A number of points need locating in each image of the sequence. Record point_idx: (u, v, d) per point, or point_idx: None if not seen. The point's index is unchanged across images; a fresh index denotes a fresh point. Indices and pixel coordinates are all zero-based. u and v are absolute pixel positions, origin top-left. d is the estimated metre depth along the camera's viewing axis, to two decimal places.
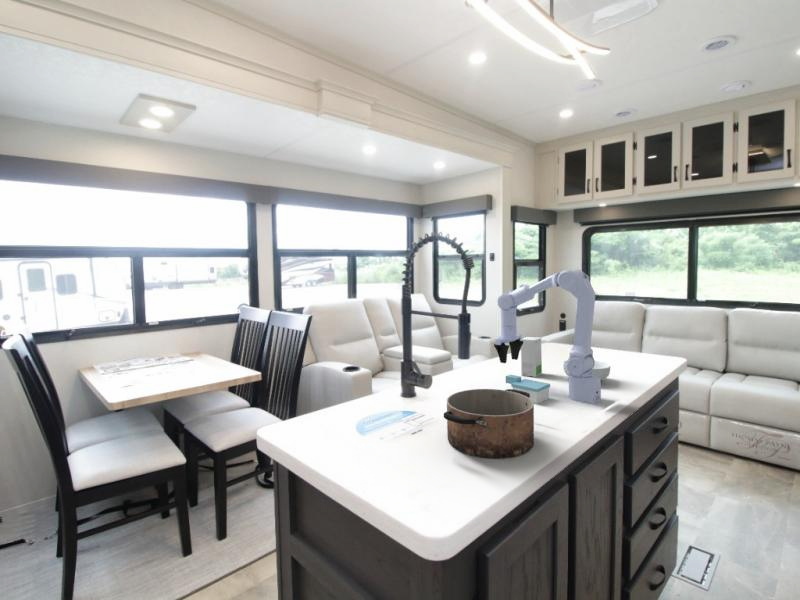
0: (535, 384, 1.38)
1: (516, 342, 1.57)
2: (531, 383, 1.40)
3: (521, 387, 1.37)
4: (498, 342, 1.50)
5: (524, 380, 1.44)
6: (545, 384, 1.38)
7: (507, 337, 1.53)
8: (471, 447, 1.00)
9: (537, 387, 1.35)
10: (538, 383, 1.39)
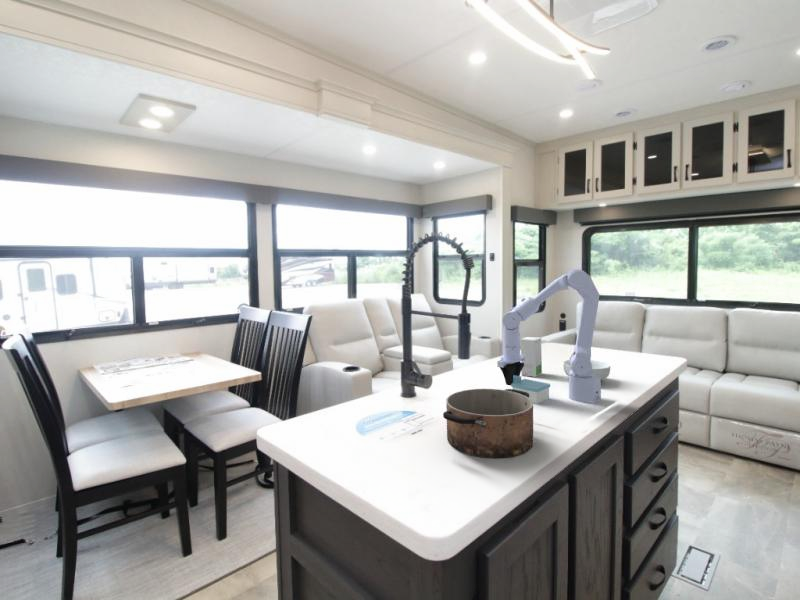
0: (535, 384, 1.38)
1: (516, 364, 1.45)
2: (531, 383, 1.40)
3: (521, 387, 1.37)
4: (500, 364, 1.39)
5: (524, 380, 1.44)
6: (545, 384, 1.38)
7: (510, 359, 1.42)
8: (471, 447, 1.00)
9: (537, 387, 1.35)
10: (538, 383, 1.39)
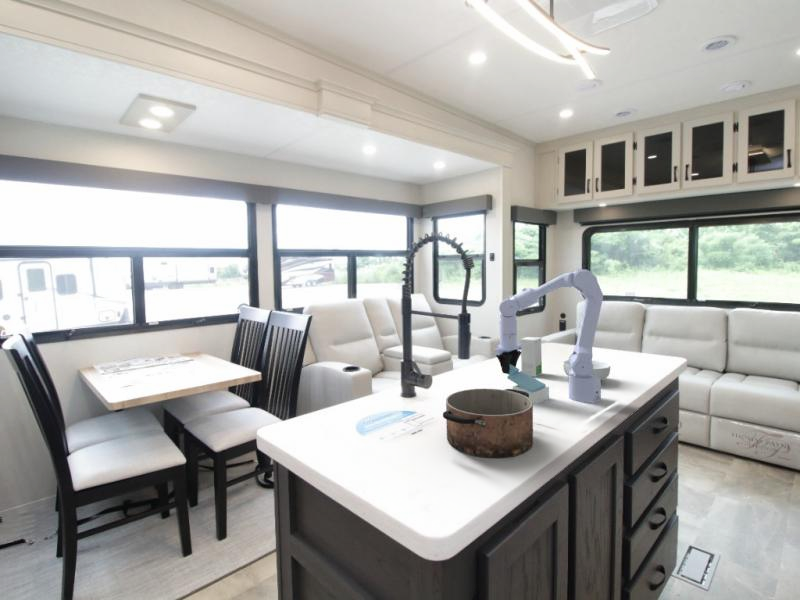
0: (531, 382, 1.37)
1: (513, 352, 1.43)
2: (527, 379, 1.39)
3: (517, 382, 1.36)
4: (497, 352, 1.38)
5: (521, 373, 1.42)
6: (541, 384, 1.37)
7: (507, 346, 1.40)
8: (470, 446, 1.00)
9: (532, 387, 1.34)
10: (534, 381, 1.38)
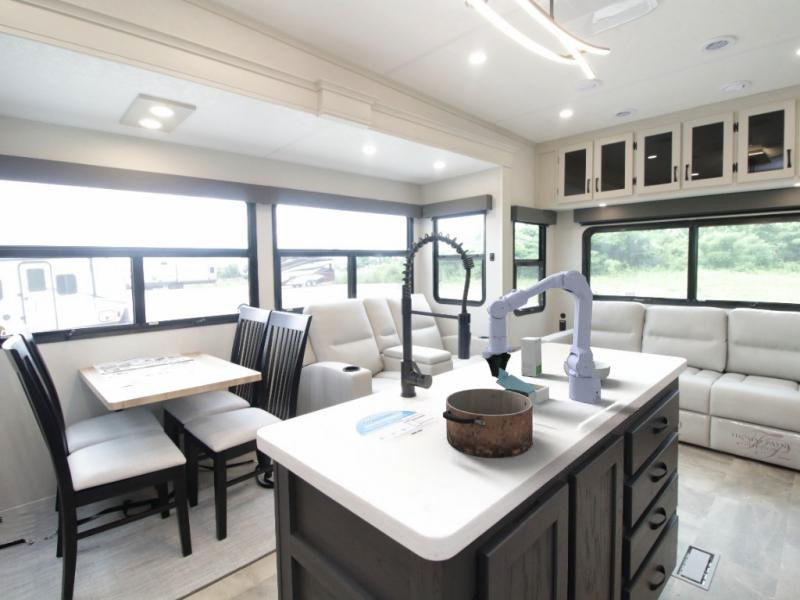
0: (521, 386, 1.33)
1: (503, 355, 1.39)
2: (517, 384, 1.34)
3: (506, 387, 1.32)
4: (486, 355, 1.33)
5: (510, 377, 1.38)
6: (531, 388, 1.33)
7: (496, 349, 1.36)
8: (470, 446, 1.00)
9: None
10: (524, 385, 1.34)
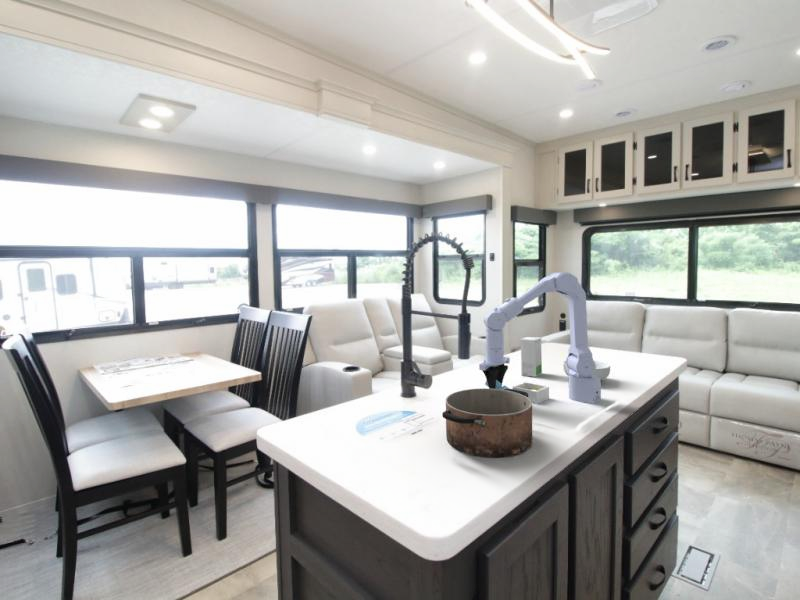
0: None
1: (500, 367, 1.38)
2: None
3: None
4: (482, 367, 1.32)
5: (504, 388, 1.38)
6: None
7: (493, 361, 1.35)
8: (470, 446, 1.00)
9: None
10: None
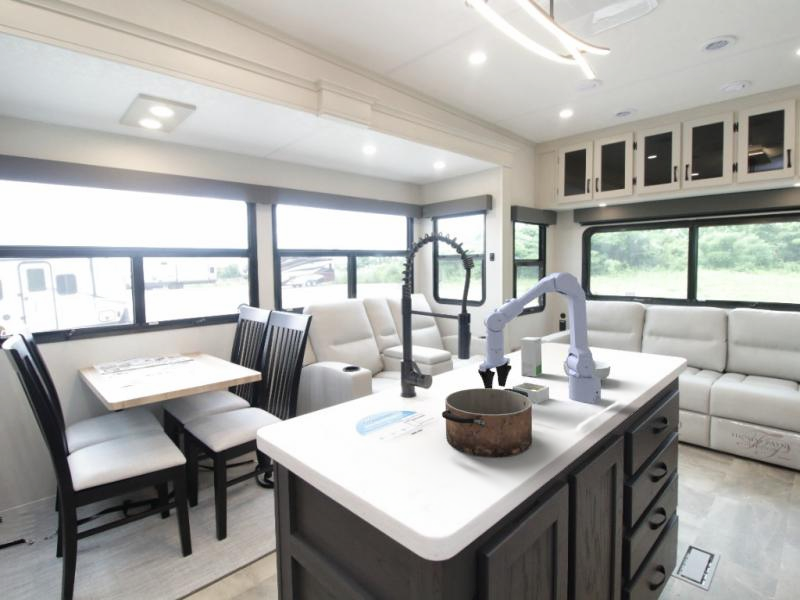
0: None
1: (503, 367, 1.40)
2: None
3: None
4: (482, 368, 1.32)
5: None
6: None
7: (493, 362, 1.35)
8: (469, 446, 1.00)
9: None
10: None
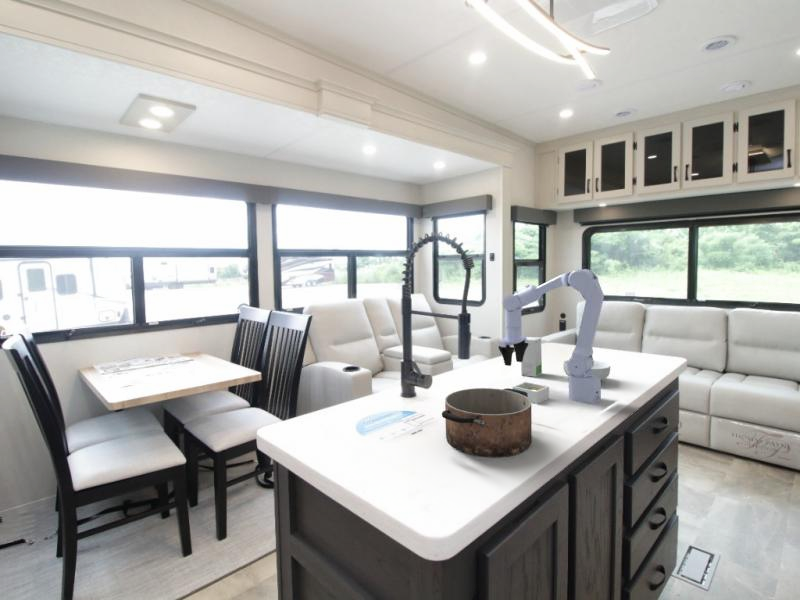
0: None
1: (521, 344, 1.53)
2: None
3: None
4: (503, 344, 1.46)
5: None
6: None
7: (512, 339, 1.49)
8: (469, 446, 1.00)
9: None
10: None
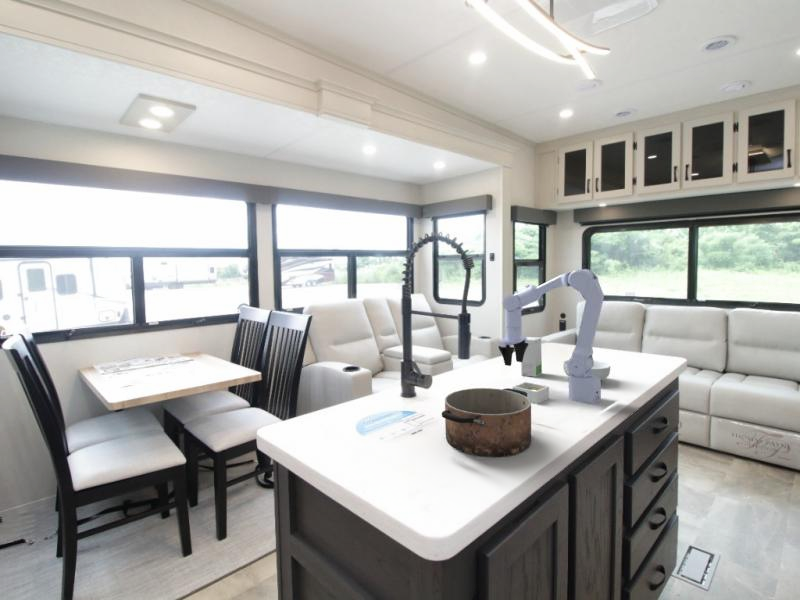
0: None
1: (521, 344, 1.53)
2: None
3: None
4: (503, 344, 1.46)
5: None
6: None
7: (512, 339, 1.49)
8: (469, 446, 1.00)
9: None
10: None
